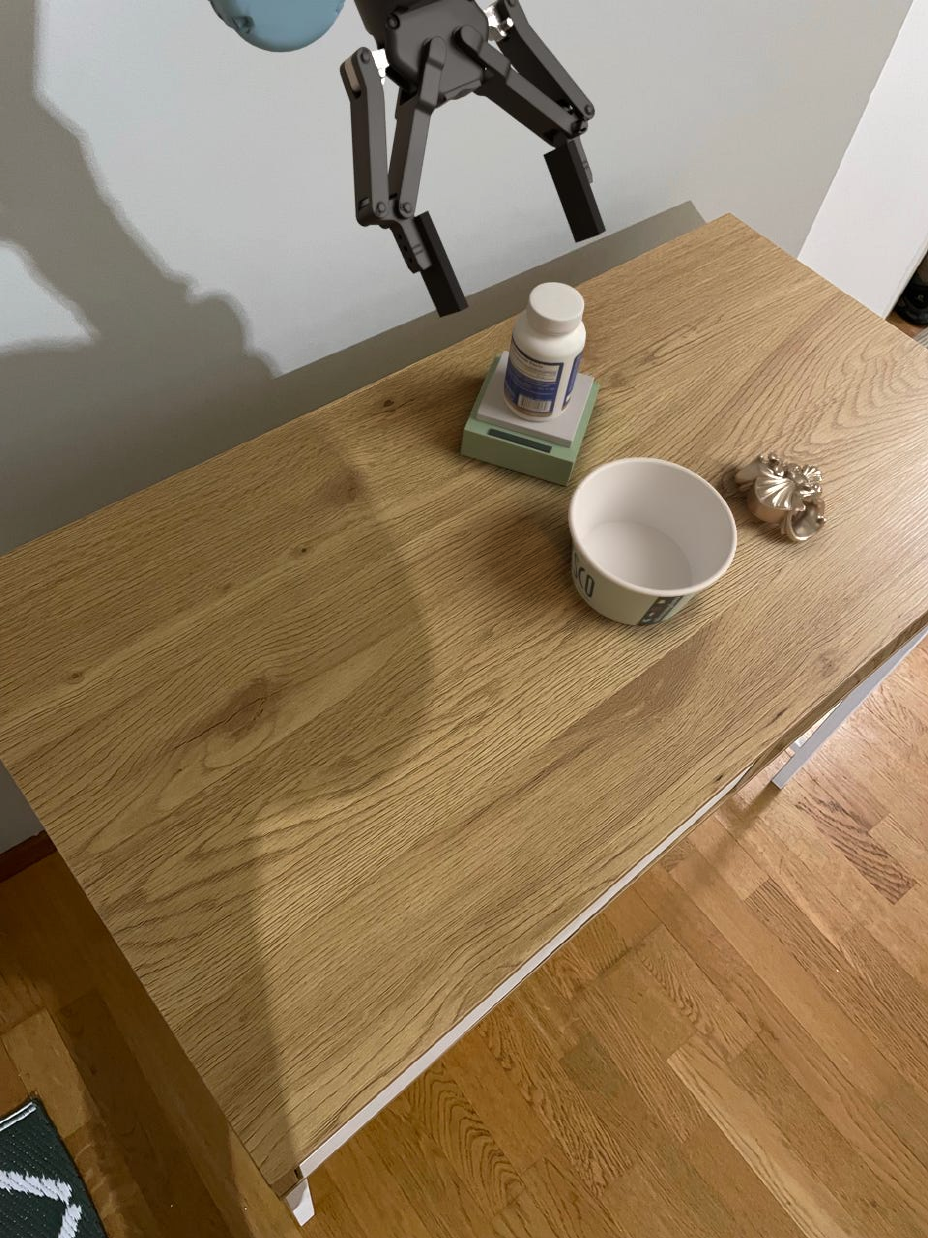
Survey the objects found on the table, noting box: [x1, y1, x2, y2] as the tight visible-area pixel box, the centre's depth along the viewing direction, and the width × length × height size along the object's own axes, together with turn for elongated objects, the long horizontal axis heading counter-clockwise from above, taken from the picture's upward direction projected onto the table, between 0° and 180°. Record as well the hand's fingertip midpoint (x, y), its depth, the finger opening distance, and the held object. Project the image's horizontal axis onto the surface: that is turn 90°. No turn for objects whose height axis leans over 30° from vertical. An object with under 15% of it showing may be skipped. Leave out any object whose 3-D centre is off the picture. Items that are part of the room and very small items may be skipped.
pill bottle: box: [503, 281, 587, 421], centre depth 70 cm, size 5×5×10 cm
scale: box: [460, 350, 601, 487], centre depth 76 cm, size 9×9×4 cm
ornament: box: [734, 451, 827, 543], centre depth 74 cm, size 8×7×4 cm
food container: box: [567, 456, 738, 626], centre depth 68 cm, size 12×12×6 cm
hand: (525, 273), depth 67 cm, fingers open, 13 cm apart
